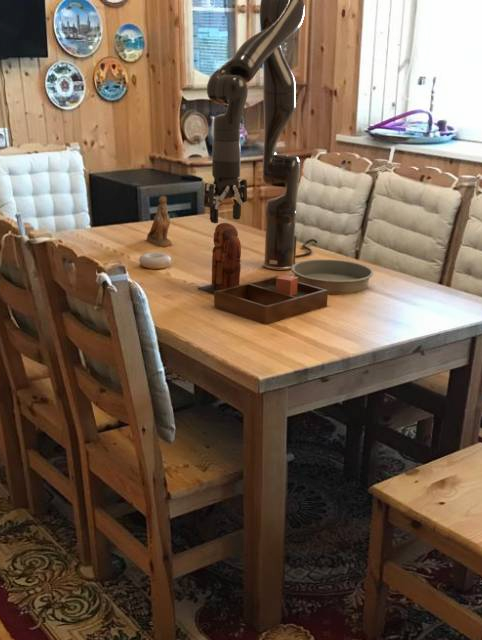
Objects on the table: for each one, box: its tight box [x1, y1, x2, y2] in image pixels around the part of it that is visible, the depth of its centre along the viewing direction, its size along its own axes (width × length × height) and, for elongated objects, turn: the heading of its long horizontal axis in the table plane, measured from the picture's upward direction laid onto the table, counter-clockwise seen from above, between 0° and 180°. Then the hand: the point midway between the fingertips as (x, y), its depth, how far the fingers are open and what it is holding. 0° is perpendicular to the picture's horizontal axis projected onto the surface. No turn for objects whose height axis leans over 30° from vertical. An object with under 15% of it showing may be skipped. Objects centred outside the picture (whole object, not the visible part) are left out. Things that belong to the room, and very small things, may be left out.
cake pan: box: [290, 259, 374, 295], centre depth 244 cm, size 25×25×4 cm
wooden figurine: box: [211, 222, 242, 290], centre depth 231 cm, size 12×6×18 cm, turn 31°
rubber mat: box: [197, 283, 217, 295], centre depth 235 cm, size 11×11×1 cm
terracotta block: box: [276, 274, 298, 296], centre depth 224 cm, size 4×4×4 cm
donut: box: [138, 252, 172, 270], centre depth 255 cm, size 10×3×10 cm
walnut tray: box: [213, 275, 329, 325], centre depth 221 cm, size 25×19×4 cm
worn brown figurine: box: [146, 194, 172, 247], centre depth 279 cm, size 12×6×18 cm, turn 26°
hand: (225, 220), depth 226 cm, fingers open, 8 cm apart
